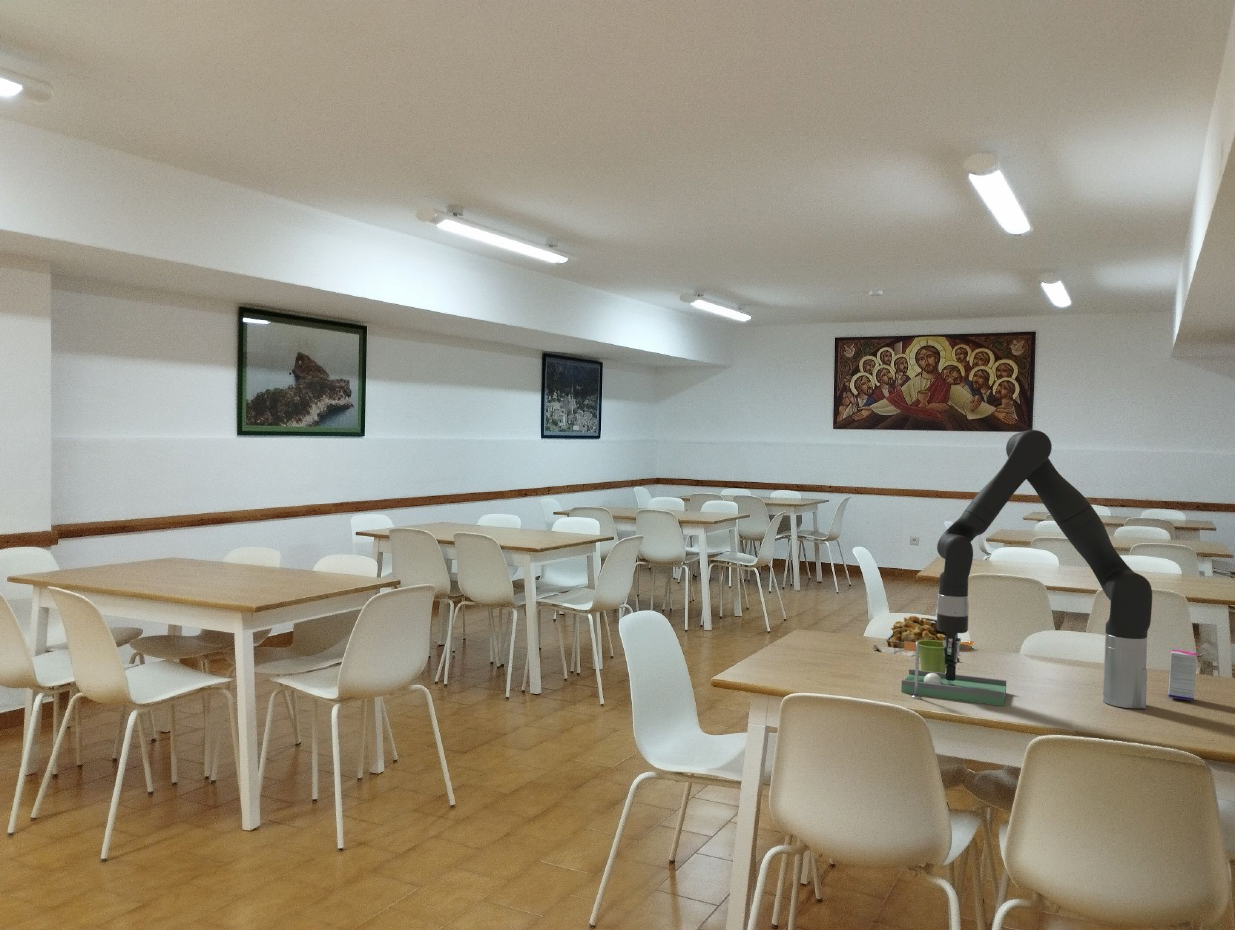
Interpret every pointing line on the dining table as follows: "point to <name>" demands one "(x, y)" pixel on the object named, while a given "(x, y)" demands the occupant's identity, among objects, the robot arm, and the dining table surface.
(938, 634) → the food tray
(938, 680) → the ball
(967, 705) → the dining table surface
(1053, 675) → the dining table surface
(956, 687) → the lane
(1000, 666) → the dining table surface
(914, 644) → the pin
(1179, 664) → the supplement box
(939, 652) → the plant pot
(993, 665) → the dining table surface
